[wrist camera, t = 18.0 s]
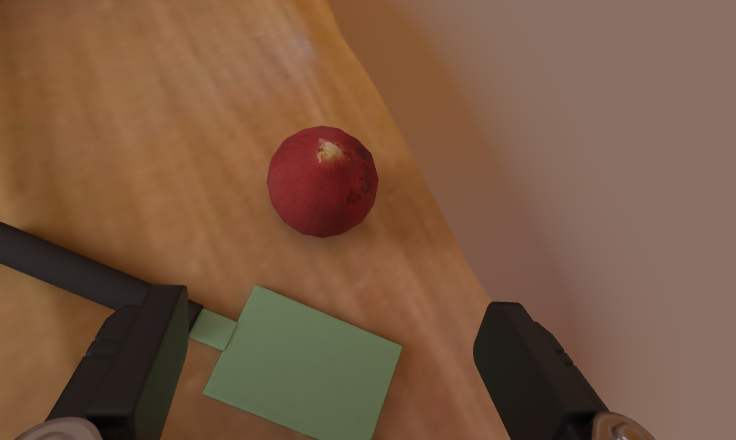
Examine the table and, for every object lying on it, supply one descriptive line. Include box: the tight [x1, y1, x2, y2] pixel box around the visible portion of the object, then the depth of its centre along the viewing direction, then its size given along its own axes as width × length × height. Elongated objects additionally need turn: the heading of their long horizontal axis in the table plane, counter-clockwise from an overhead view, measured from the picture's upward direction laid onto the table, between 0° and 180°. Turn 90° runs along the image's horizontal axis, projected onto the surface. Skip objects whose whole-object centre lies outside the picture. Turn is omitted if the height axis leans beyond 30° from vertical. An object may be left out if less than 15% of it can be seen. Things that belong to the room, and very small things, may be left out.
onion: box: [267, 126, 378, 238], centre depth 22 cm, size 6×6×8 cm
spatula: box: [0, 222, 402, 440], centre depth 22 cm, size 22×6×2 cm, turn 69°
